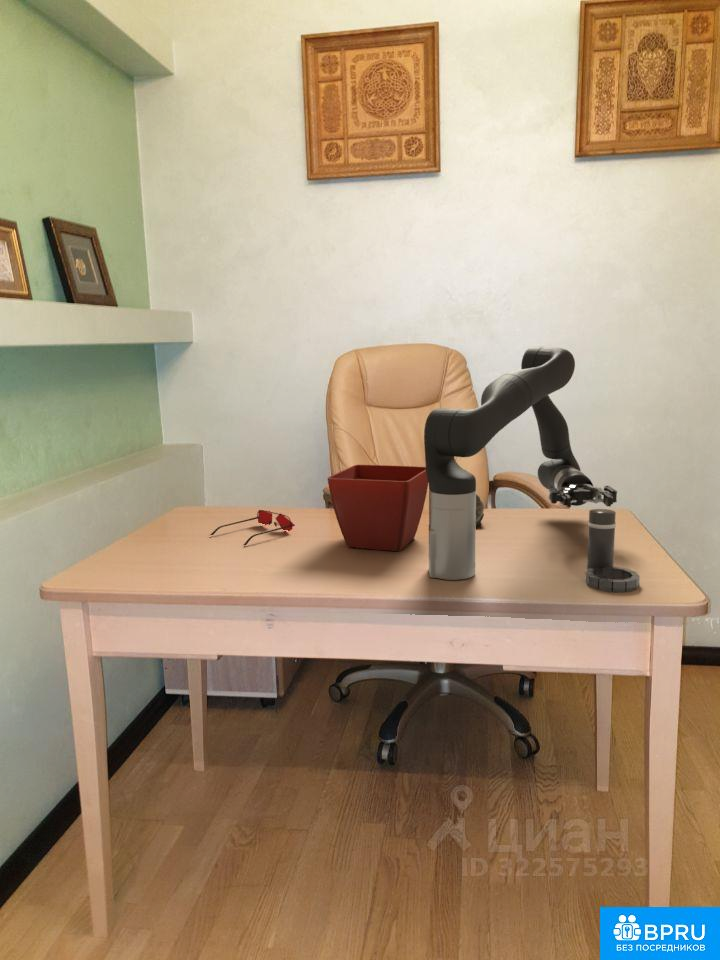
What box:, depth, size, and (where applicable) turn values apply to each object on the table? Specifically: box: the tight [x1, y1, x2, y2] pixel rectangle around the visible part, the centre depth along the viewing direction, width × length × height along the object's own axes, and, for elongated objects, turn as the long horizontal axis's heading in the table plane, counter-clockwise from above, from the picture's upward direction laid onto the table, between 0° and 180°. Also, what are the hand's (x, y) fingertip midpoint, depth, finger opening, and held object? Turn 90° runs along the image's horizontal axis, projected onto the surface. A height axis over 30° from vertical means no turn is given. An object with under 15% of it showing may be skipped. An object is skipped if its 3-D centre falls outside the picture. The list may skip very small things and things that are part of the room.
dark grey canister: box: [586, 508, 617, 570], centre depth 152 cm, size 5×5×12 cm
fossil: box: [476, 493, 485, 526], centre depth 191 cm, size 11×9×10 cm
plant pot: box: [327, 464, 429, 552], centre depth 174 cm, size 19×19×17 cm
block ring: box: [585, 565, 640, 593], centre depth 144 cm, size 9×9×2 cm
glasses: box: [210, 509, 296, 546], centre depth 184 cm, size 14×16×5 cm
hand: (589, 502), depth 162 cm, fingers open, 8 cm apart
